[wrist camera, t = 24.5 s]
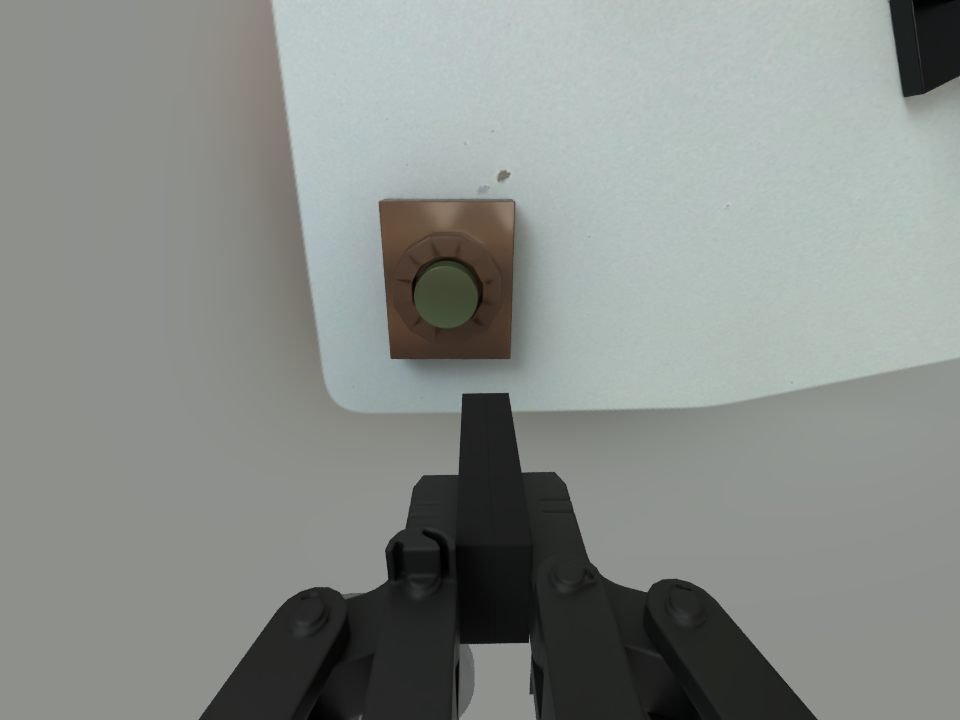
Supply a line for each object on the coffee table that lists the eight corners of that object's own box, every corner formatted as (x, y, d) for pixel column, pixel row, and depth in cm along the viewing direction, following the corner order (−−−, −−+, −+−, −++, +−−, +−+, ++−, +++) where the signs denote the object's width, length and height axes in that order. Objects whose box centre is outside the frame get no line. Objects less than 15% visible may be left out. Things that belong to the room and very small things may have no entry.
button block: (508, 347, 33) (512, 369, 29) (395, 347, 32) (385, 370, 29) (512, 199, 29) (518, 203, 25) (385, 198, 29) (371, 202, 25)
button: (477, 319, 28) (477, 328, 26) (418, 319, 28) (415, 328, 26) (477, 260, 27) (477, 266, 25) (416, 260, 27) (412, 266, 25)
